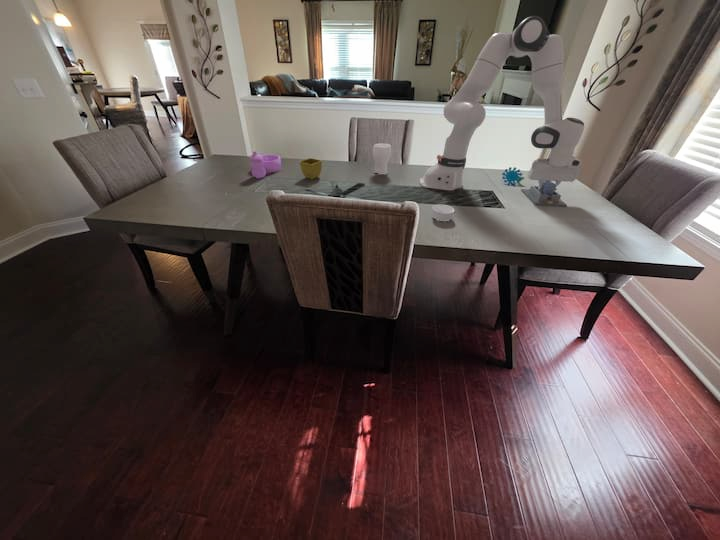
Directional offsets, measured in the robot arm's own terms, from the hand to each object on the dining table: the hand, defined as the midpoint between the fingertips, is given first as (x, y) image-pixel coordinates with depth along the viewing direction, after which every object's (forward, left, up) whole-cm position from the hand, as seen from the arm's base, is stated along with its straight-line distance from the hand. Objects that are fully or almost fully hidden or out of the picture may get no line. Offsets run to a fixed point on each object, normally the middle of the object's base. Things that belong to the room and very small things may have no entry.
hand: (545, 189), depth 134 cm
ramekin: (-52, -28, -5) cm, 59 cm away
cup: (-80, +27, -5) cm, 84 cm away
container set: (-146, +19, -5) cm, 148 cm away
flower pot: (-117, +13, -5) cm, 118 cm away
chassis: (0, 0, -4) cm, 4 cm away
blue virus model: (-9, +20, -5) cm, 22 cm away
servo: (0, 0, -2) cm, 2 cm away
